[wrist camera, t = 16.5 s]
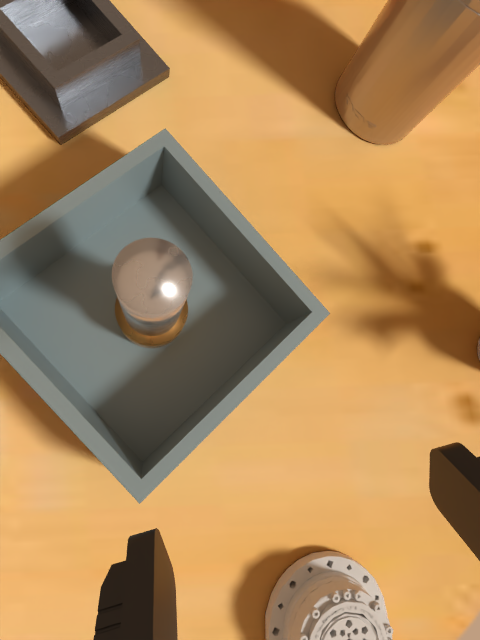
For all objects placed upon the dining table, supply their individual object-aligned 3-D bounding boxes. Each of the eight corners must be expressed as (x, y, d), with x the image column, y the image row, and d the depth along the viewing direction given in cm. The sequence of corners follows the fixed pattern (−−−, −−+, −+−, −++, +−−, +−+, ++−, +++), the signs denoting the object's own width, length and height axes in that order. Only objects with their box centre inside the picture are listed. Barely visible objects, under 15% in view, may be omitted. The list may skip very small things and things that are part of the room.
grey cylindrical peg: (155, 271, 32) (158, 207, 20) (197, 319, 32) (224, 282, 20) (103, 312, 30) (75, 268, 19) (148, 361, 31) (147, 348, 19)
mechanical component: (265, 552, 31) (261, 694, 30) (283, 577, 27) (280, 746, 25) (376, 546, 34) (379, 679, 32) (408, 569, 29) (414, 724, 28)
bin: (162, 175, 34) (165, 128, 28) (297, 326, 35) (330, 313, 29) (-20, 305, 29) (-65, 283, 23) (141, 479, 30) (139, 503, 24)
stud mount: (80, -23, 36) (73, -66, 32) (169, 76, 36) (171, 45, 33) (-38, 36, 32) (-60, -5, 29) (60, 144, 33) (50, 117, 29)
